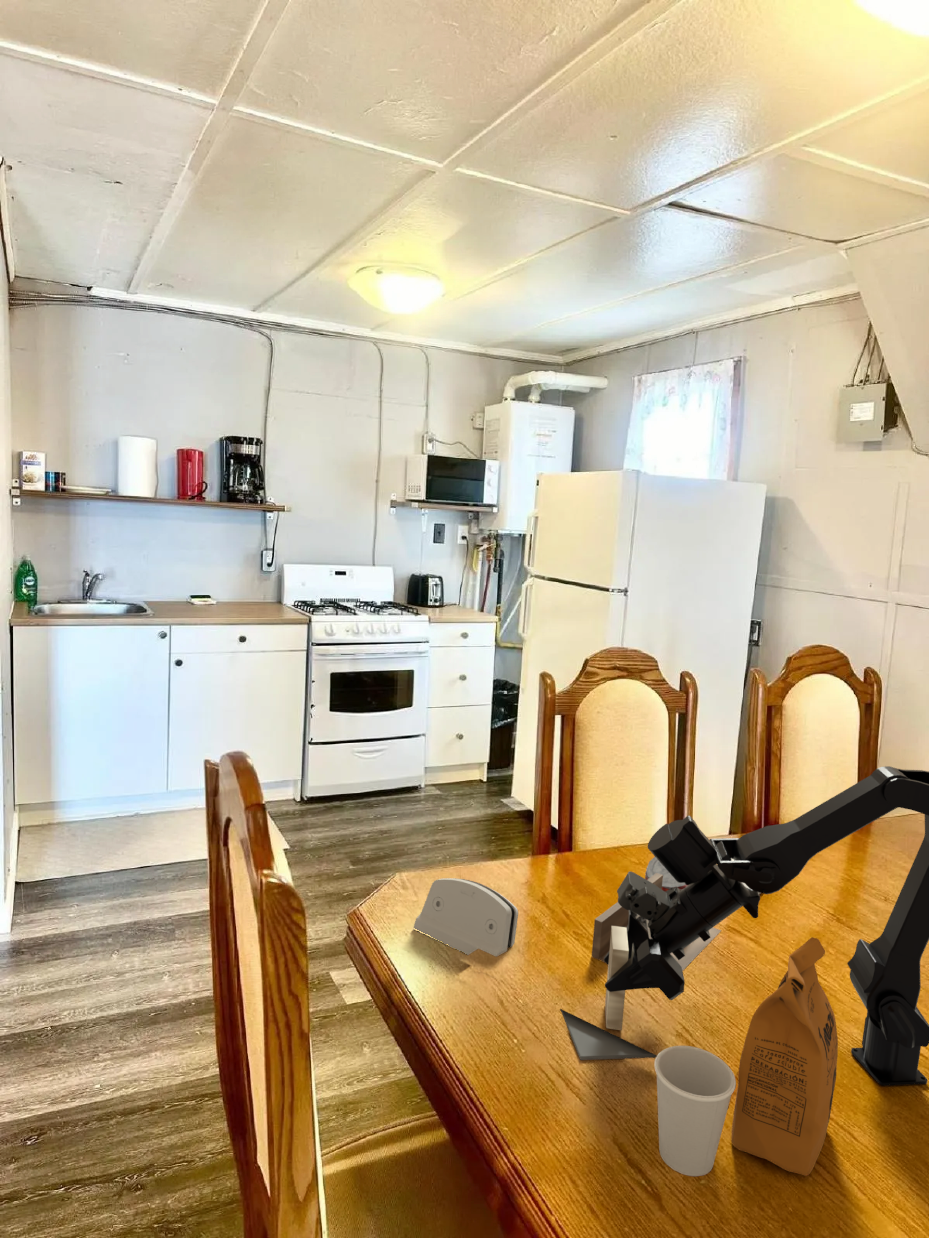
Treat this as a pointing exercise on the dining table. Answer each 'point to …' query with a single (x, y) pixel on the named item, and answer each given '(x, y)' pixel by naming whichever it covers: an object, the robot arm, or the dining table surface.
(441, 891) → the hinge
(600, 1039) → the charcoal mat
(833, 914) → the dining table surface
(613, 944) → the birch board
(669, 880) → the canned food
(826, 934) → the dining table surface
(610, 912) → the grey desk organizer
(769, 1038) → the coffee package
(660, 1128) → the dixie cup
